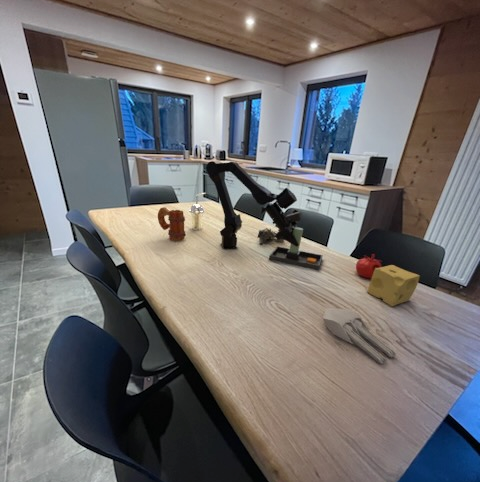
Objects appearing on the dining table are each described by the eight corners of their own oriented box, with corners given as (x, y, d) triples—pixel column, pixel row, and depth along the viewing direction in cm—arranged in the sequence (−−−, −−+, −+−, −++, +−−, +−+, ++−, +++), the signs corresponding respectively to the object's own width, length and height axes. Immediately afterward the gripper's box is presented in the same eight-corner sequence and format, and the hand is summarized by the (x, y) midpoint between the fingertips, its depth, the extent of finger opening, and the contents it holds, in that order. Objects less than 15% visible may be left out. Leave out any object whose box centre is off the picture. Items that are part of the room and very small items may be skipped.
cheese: (392, 307, 87) (402, 280, 83) (365, 291, 96) (373, 267, 91) (410, 301, 92) (421, 275, 88) (383, 287, 100) (391, 263, 96)
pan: (268, 260, 115) (269, 255, 114) (276, 251, 127) (277, 246, 125) (318, 271, 109) (319, 265, 108) (321, 260, 120) (322, 255, 119)
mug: (189, 238, 134) (189, 209, 128) (181, 243, 127) (180, 212, 121) (164, 233, 138) (163, 205, 132) (155, 238, 131) (153, 208, 125)
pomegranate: (350, 274, 108) (355, 253, 104) (359, 268, 115) (364, 248, 111) (374, 283, 103) (382, 261, 98) (382, 276, 109) (389, 255, 105)
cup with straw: (189, 226, 153) (189, 190, 145) (205, 226, 155) (205, 191, 146) (188, 230, 146) (188, 193, 137) (205, 231, 147) (205, 194, 138)
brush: (296, 260, 115) (303, 231, 109) (285, 258, 116) (291, 228, 110) (299, 257, 119) (305, 228, 113) (288, 254, 121) (294, 226, 115)
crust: (306, 263, 114) (307, 260, 114) (307, 260, 117) (308, 257, 117) (314, 264, 113) (315, 261, 113) (315, 262, 116) (316, 258, 116)
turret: (372, 374, 63) (381, 361, 60) (313, 319, 76) (318, 307, 74) (394, 359, 68) (403, 346, 66) (335, 310, 81) (340, 298, 79)
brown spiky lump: (290, 240, 133) (268, 223, 128) (276, 255, 137) (254, 240, 132) (285, 232, 143) (264, 216, 138) (272, 246, 147) (251, 231, 142)
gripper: (287, 207, 101) (311, 240, 102) (296, 200, 117) (317, 228, 118) (265, 224, 107) (288, 255, 108) (277, 215, 122) (297, 242, 124)
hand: (298, 244), depth 114 cm, fingers closed on brush, 3 cm apart
